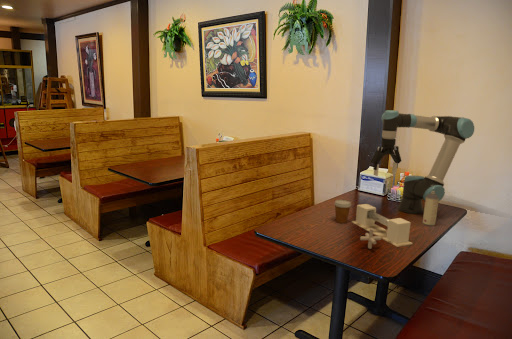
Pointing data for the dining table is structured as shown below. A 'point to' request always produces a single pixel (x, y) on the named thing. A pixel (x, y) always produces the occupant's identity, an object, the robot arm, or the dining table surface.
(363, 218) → the sleeve
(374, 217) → the tube
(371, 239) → the pipe connector
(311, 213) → the dining table surface
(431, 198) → the aerosol can
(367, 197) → the dining table surface
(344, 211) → the disposable coffee cup
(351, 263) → the dining table surface
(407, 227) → the socket
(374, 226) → the board
